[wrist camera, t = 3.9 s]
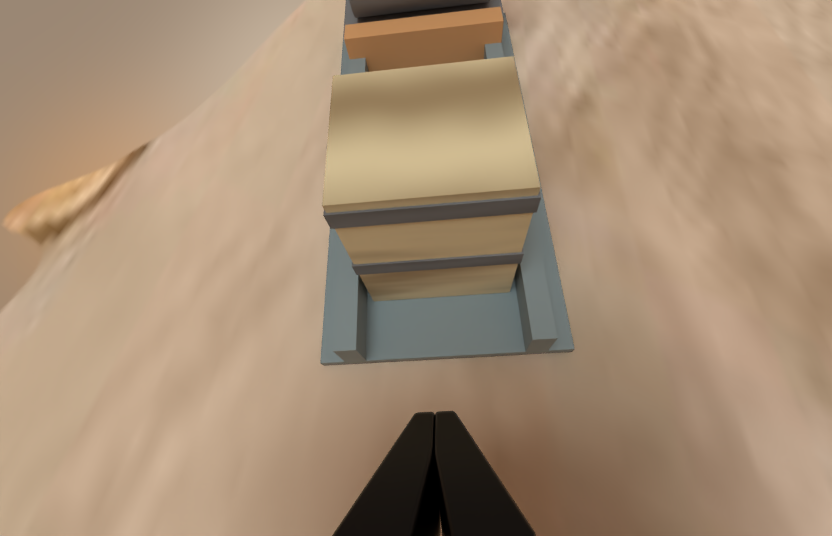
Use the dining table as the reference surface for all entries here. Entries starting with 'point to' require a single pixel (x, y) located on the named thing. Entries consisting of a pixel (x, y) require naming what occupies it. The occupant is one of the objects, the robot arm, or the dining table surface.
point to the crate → (431, 177)
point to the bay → (453, 315)
